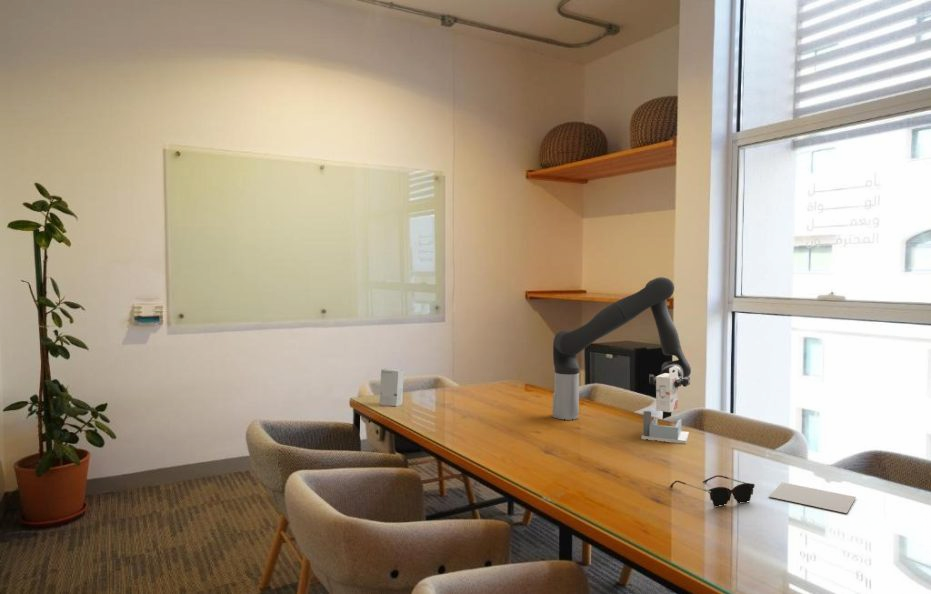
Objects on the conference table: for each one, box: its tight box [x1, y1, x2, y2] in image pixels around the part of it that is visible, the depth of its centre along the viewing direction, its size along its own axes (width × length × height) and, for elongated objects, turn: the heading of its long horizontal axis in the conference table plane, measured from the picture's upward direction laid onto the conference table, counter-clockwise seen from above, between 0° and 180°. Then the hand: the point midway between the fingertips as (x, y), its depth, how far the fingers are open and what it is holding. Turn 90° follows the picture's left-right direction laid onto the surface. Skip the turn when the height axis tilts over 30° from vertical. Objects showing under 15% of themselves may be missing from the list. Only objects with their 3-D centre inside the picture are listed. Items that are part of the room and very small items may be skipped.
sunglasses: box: [669, 474, 756, 508], centre depth 157 cm, size 14×16×5 cm
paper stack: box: [768, 482, 856, 514], centre depth 156 cm, size 23×25×1 cm
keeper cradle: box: [641, 410, 690, 445], centre depth 213 cm, size 14×13×9 cm
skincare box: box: [379, 367, 405, 407], centre depth 262 cm, size 8×6×15 cm
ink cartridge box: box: [655, 366, 679, 413], centre depth 213 cm, size 9×5×15 cm, turn 144°
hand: (666, 383), depth 211 cm, fingers closed on ink cartridge box, 5 cm apart
